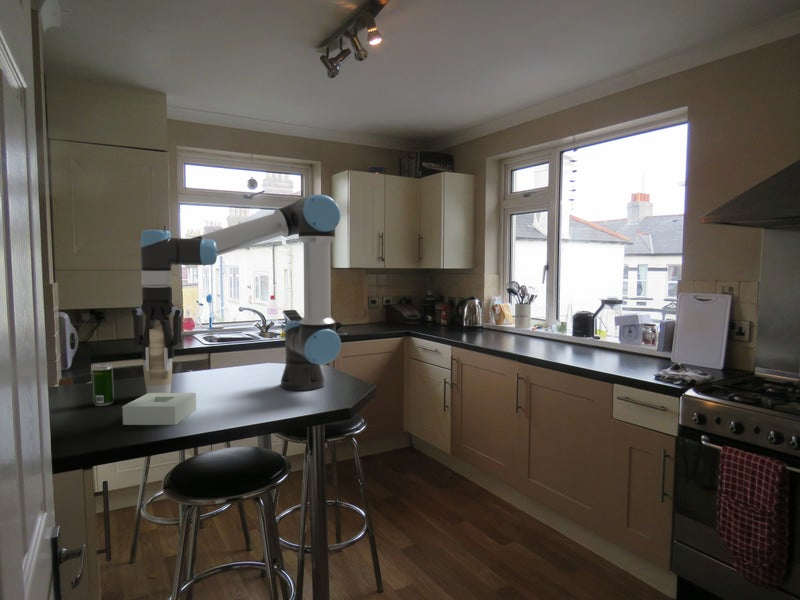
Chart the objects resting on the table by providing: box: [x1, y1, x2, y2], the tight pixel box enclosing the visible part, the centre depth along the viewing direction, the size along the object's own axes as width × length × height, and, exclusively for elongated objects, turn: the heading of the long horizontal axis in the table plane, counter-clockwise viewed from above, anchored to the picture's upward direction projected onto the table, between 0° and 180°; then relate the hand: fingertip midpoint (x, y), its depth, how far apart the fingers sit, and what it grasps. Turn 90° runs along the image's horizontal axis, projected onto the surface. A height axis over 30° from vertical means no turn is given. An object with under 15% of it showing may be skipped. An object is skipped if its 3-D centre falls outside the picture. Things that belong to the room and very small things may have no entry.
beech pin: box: [149, 327, 168, 380], centre depth 141 cm, size 4×4×14 cm
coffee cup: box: [141, 357, 173, 394], centre depth 164 cm, size 9×9×15 cm
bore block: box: [121, 392, 197, 426], centre depth 142 cm, size 14×14×5 cm
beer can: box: [91, 363, 115, 407], centre depth 155 cm, size 5×5×12 cm
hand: (158, 369), depth 141 cm, fingers closed on beech pin, 4 cm apart
